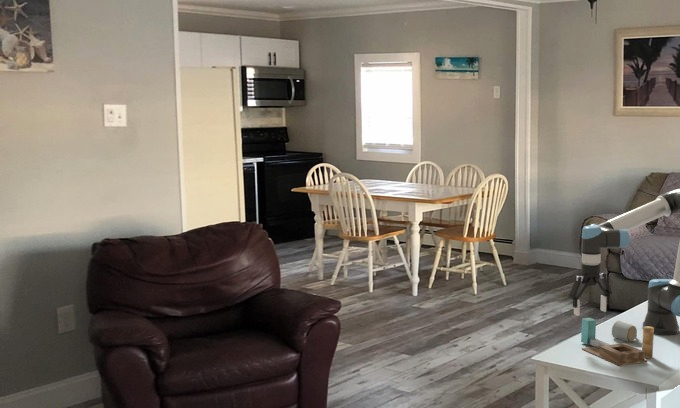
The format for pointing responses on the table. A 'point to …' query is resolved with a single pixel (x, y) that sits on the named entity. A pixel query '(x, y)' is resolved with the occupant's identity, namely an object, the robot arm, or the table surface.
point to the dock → (618, 354)
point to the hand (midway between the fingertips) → (590, 313)
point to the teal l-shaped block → (590, 333)
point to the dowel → (648, 341)
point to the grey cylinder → (624, 331)
